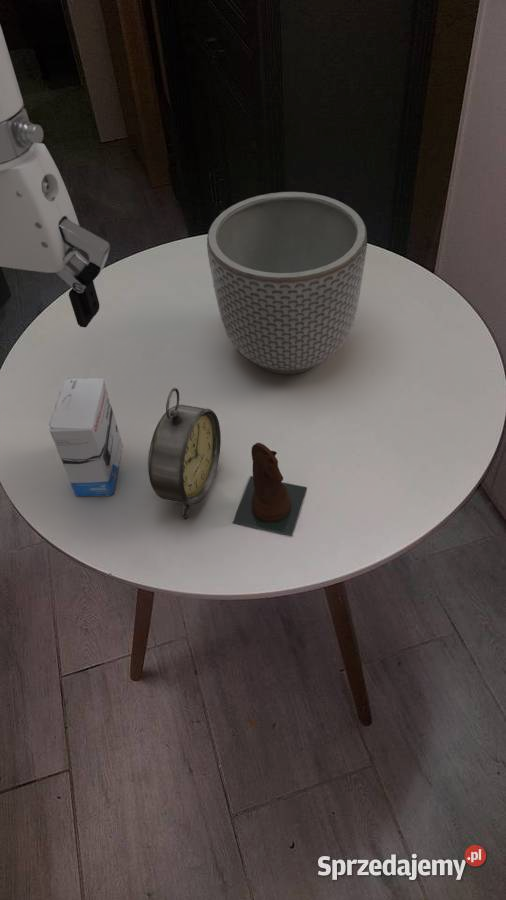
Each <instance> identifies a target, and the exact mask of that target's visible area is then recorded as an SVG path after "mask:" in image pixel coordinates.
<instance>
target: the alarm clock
mask: <svg viewBox="0 0 506 900" xmlns="http://www.w3.org/2000/svg"><path fill="white" fill-rule="evenodd" d="M174 392H175V394H176V404H175V405H173V406H172V407H170V404H171V403H170V402H171V398H172V395H173V394H174ZM221 435H222V434H221V425H220V421H219V419H218V416H217V414H216V412H215V411H214V410H213V409H210V408H206V407H205V408H204V407H198V406H191V405H186V404H180V391H179V389H178V388H177V387H173V388H172V389H170V391H169V393H168V396H167V399H166V404H165V412H164V414H163V415H162V416H161V418H160V419H159V421H158V422H157V424H156V427H155V429H154V432H153V434H152V438H151V440H150V445H149V451H148V459H147V472H148V478H149V483H150V486H151V488H152V490H153V492H154V493H155V495H157V496H158V497H159V498H160V499H161V500H165V501H171V502H175V503H179V504H182V513H183V514H182V519H183V520H187V519H189V516H188V513H189V509H190V506H196V505H198V504H199V503H200V502H202V500H203V499H204V498H205V497H206V496H207V494H208V493H209V490H210V488H211V486H212V484H213V481H214V479H215V477H216V473H217V468H218V465H219V459H220V454H221V444H222V443H221V442H222V439H221Z"/></svg>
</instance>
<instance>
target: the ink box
mask: <svg viewBox="0 0 506 900" xmlns="http://www.w3.org/2000/svg"><path fill="white" fill-rule="evenodd" d="M48 426H49V430H48V431H49V433H50V436H51V438H52V440H53V443H54V445H55V447H56V450H57V453H58V455H59V457H60V460H61V463H62V465H63V468H64V470H65V473H66V476H67V478H68V481H69V483H70V486H71V488H72V491H73V494H74V496H75V497H98V496H99V497H101V496H113V495H114V493H115V488H116V483H117V477H118V472H119V466H120V461H121V458H122V457H121V456H122V450H123V441H122V440H123V439H122V437H121V433H120V431H119V426H118V423H117V420H116V417H115V413H114V410H113V406H112V403H111V399H110V397H109V393H108V389H107V385H106V381H105V379H104V378H102V377H90V378H89V377H87V378H86V377H84V378H83V377H82V378H77V377H76V378H75V377H73V378H70V377H69V378H64V380H63V381H62V384H61V387H60V390H59V392H58V397H57V399H56V402H55V405H54V409H53V412H52V414H51V417H50V420H49V424H48Z"/></svg>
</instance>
